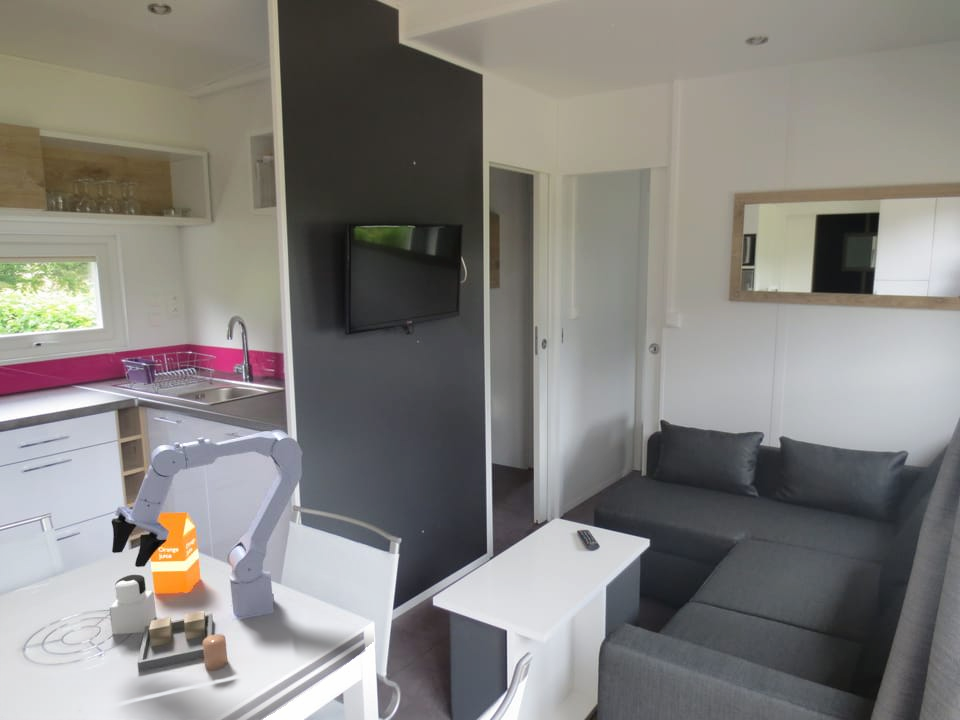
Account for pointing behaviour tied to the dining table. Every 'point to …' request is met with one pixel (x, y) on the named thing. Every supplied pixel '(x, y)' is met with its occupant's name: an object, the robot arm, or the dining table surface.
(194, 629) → the birch block
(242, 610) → the robot arm
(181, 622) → the tray
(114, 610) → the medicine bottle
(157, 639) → the birch block
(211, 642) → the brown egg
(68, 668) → the dining table surface
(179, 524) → the orange juice
